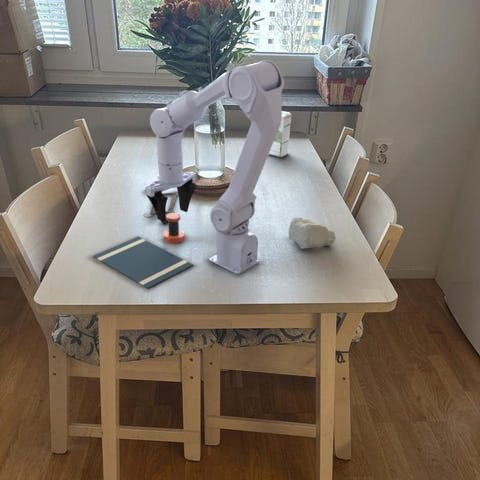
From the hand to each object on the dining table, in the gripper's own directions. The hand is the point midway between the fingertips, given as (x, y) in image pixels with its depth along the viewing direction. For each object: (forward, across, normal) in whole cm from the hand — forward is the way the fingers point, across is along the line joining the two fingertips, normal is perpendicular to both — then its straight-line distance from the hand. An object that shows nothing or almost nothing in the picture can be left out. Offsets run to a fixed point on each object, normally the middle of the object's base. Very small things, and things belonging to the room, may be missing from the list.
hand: (172, 215), depth 126 cm
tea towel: (+6, +13, +3) cm, 15 cm away
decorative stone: (+7, -23, +27) cm, 36 cm away
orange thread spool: (+6, 0, 0) cm, 7 cm away
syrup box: (+7, -71, -21) cm, 74 cm away
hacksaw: (+7, -10, -18) cm, 22 cm away
